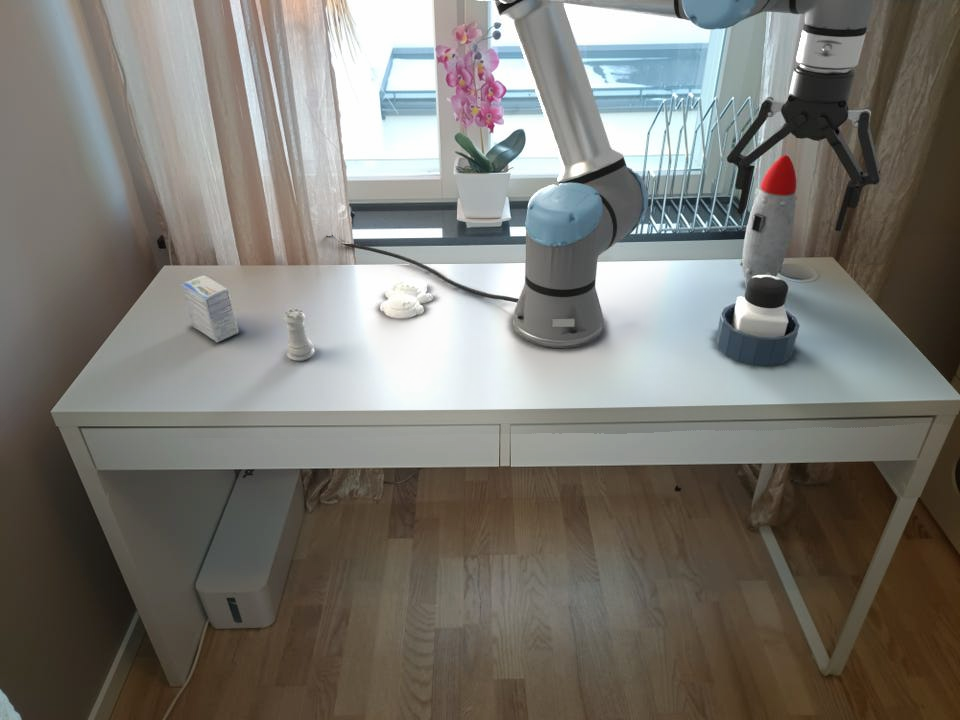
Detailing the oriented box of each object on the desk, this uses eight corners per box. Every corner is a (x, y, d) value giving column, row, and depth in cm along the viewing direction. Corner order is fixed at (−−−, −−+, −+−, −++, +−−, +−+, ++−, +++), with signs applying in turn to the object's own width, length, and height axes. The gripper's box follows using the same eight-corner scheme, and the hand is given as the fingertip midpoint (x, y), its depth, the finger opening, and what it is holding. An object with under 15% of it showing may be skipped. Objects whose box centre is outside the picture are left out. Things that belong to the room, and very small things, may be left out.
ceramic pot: (708, 354, 119) (713, 327, 117) (725, 321, 128) (731, 295, 125) (784, 373, 115) (791, 346, 112) (797, 338, 123) (804, 311, 120)
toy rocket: (724, 285, 139) (750, 154, 125) (752, 273, 143) (780, 144, 129) (759, 301, 134) (790, 166, 120) (786, 288, 138) (819, 156, 124)
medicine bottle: (779, 360, 118) (796, 293, 111) (732, 355, 119) (746, 289, 112) (773, 336, 124) (789, 272, 117) (729, 332, 125) (742, 268, 118)
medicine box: (239, 333, 126) (229, 288, 121) (216, 344, 123) (204, 298, 119) (215, 317, 131) (204, 273, 126) (192, 327, 128) (180, 282, 123)
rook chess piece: (291, 365, 118) (283, 322, 113) (283, 351, 121) (276, 309, 117) (318, 357, 120) (311, 314, 115) (310, 344, 123) (303, 302, 118)
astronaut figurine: (440, 291, 139) (439, 276, 137) (416, 322, 129) (415, 307, 128) (397, 285, 141) (395, 270, 139) (370, 315, 132) (369, 300, 130)
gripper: (722, 63, 99) (697, 212, 111) (931, 83, 89) (879, 245, 101) (735, 52, 105) (710, 195, 117) (933, 70, 95) (884, 225, 107)
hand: (788, 219), depth 109 cm, fingers open, 13 cm apart
